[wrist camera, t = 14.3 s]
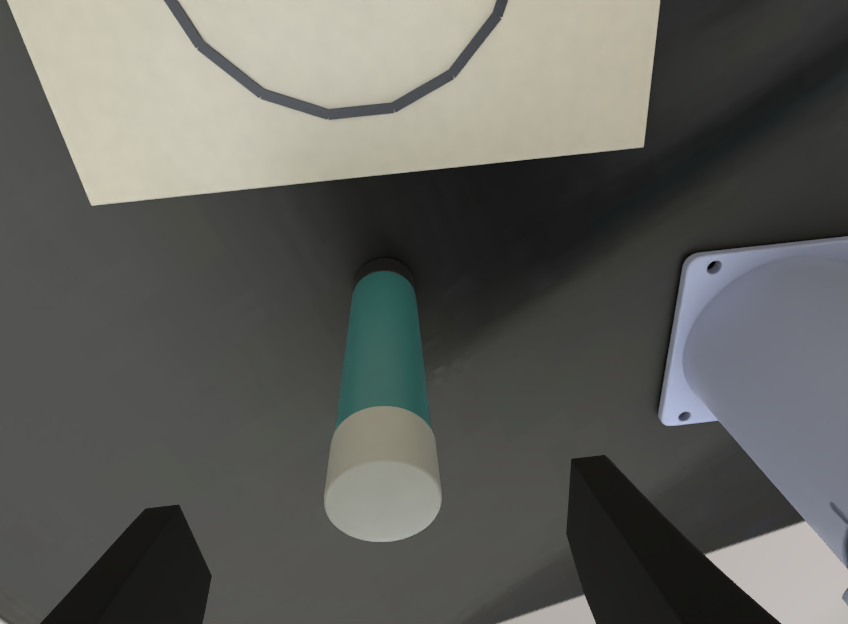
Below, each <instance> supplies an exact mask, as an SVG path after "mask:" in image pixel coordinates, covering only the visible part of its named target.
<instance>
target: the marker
mask: <svg viewBox="0 0 848 624" xmlns="http://www.w3.org/2000/svg"><path fill="white" fill-rule="evenodd" d="M441 502H442V492H441V484H440V476H439V468H438V460H437V452H436V444H435V438H434V435H433V432H432V429H431V421H430V412H429V404H428V395H427V387H426V378H425V370H424V361H423V353H422V345H421V336H420V328H419V319H418V311H417V302H416V294H415V285H414V279H413V276H412V274H411V272H410V271H409V269H408V268H407V267H406V266H405V265H404V264H402V263H401V262H399V261H397V260H394V259H390V258H378V259H374V260H371V261H369V262H367V263H366V264H364V265H363V266H362V267H361V268H360V269H359V271H358V272H357V274H356V277H355V280H354V287H353V295H352V303H351V310H350V318H349V326H348V334H347V342H346V349H345V357H344V365H343V373H342V381H341V389H340V396H339V404H338V412H337V420H336V428H335V433H334V435H333V437H332V442H331V448H330V456H329V463H328V471H327V478H326V486H325V493H324V506H325V510H326V513H327V515H328V517H329V519H330V520H331V522H332V523H333V524H334V525H335V526H336V527H337V528H338V529H340V530H341V531H343V532H344V533H346V534H348V535H350V536H352V537H355V538H358V539H361V540H366V541H374V542H388V541H395V540H400V539H404V538H407V537H410V536H412V535H414V534H416V533H418V532H420V531H421V530H423V529H424V528H426V527H427V526H428V525H429V524H430V523H431V522H432V521H433V520H434V518H435V517H436V515H437V514H438V512H439V509H440V506H441Z"/></svg>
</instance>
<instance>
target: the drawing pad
mask: <svg viewBox="0 0 848 624" xmlns="http://www.w3.org/2000/svg"><path fill="white" fill-rule="evenodd" d="M7 1H8V4H9V6H10V9H11V11H12V14H13V16H14V19H15V21H16V23H17V26H18V28H19V31H20V33H21V36H22V38H23V40H24V43H25V45H26V48H27V50H28V53H29V55H30V57H31V60H32V62H33V65H34V67H35V70H36V72H37V75H38V77H39V79H40V82H41V84H42V87H43V89H44V92H45V94H46V96H47V99H48V101H49V104H50V106H51V109H52V111H53V114H54V116H55V118H56V121H57V123H58V126H59V128H60V131H61V133H62V135H63V138H64V140H65V143H66V145H67V148H68V150H69V153H70V155H71V157H72V160H73V162H74V165H75V167H76V170H77V172H78V174H79V177H80V179H81V182H82V184H83V187H84V189H85V191H86V194H87V196H88V199H89V201H90V204H91V205H92V206H94V205H103V204H113V203H122V202H132V201H141V200H150V199H160V198H169V197H179V196H188V195H198V194H207V193H217V192H226V191H236V190H245V189H254V188H264V187H273V186H283V185H292V184H302V183H311V182H321V181H330V180H340V179H349V178H358V177H368V176H377V175H387V174H396V173H406V172H415V171H425V170H434V169H443V168H453V167H462V166H472V165H481V164H491V163H500V162H510V161H519V160H529V159H538V158H547V157H557V156H566V155H576V154H585V153H595V152H604V151H614V150H623V149H632V148H642V147H644V140H645V131H646V122H647V113H648V104H649V96H650V87H651V78H652V69H653V60H654V51H655V43H656V34H657V25H658V16H659V7H660V0H7Z"/></svg>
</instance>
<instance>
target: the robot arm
mask: <svg viewBox="0 0 848 624" xmlns="http://www.w3.org/2000/svg"><path fill="white" fill-rule="evenodd" d="M713 261H715V264H714V266H713V267H712V268H711V269H708V270H707V267H708V265H709V264H710V263H711V262H713ZM683 412H685V413H683ZM681 413H683V414H682V415H680V414H681ZM658 417H659V419H660V420H661V422H662V423H663V424H664V425H666V426H675V425H683V424H692V423H701V422H710V421H719V422H720V423H721V424H722V425H723V426H724V427H725V429H726V430H727V431H728V432H729V433H730V434H731V435H732V437H733V438H734V439H735V440H736V441H737V442H738V444H739V445H740V446H741V447H742V448H743V449H744V450H745V452H746V453H747V454H748V455H749V456H750V457H751V458H752V460H753V461H754V462H755V463H756V464H757V465H758V467H759V468H760V469H761V470H762V471H763V472H764V473H765V475H766V476H767V477H768V478H769V479H770V480H771V481H772V483H773V484H774V485H775V486H776V487H777V488H778V489H779V491H780V492H781V493H782V494H783V495H784V496H785V498H786V499H787V500H788V501H789V502H790V503H791V504H792V506H793V507H794V508H795V509H796V510H797V511H798V512H799V514H800V515H801V516H802V517H803V518H804V519H805V521H806V522H807V523H808V524H809V525H810V526H811V527H812V528H813V530H814V531H815V532H816V533H817V534H818V535H819V537H820V538H821V539H822V540H823V541H824V542H825V543H826V544H827V546H828V547H829V548H830V549H831V550H832V551H833V553H834V554H835V555H836V556H837V557H838V558H839V559H840V561H841V562H842V563H843V564H844V565H845V566H846V568H847V569H848V236H845V237H836V238H826V239H817V240H808V241H799V242H790V243H781V244H772V245H762V246H753V247H744V248H735V249H726V250H717V251H708V252H699V253H695V254H692V255H691V256H689V257H688V258H687V259H686V260H685V261H684V264H683V267H682V273H681V279H680V285H679V291H678V297H677V303H676V309H675V315H674V321H673V327H672V333H671V339H670V345H669V351H668V357H667V363H666V369H665V375H664V381H663V387H662V393H661V399H660V405H659V411H658ZM566 534H567V537H568V541H569V544H570V548H571V551H572V555H573V558H574V562H575V565H576V569H577V572H578V575H579V579H580V582H581V585H582V589H583V592H584V594H585V597H586V599H587V601H588V604H589V607H590V609H591V611H592V614H593V617H594V619H595V622H596V624H781V623H779V621H778V620H776V619H775V618H774V617H773V616H772V615H771V614H769V613H768V612H767V611H766V610H765V609H764V608H762V607H761V606H760V605H759V604H758V603H757V602H756V601H754V600H753V599H752V598H751V597H750V596H749V595H748V594H746V593H745V592H744V591H743V590H742V589H741V588H740V587H738V586H737V585H736V584H735V583H734V582H733V581H732V580H730V578H728V577H727V576H726V575H725V574H724V573H723V572H722V571H721V570H720V569H719V568H717V567H716V566H715V565H714V564H713V563H712V562H711V561H710V560H709V559H708V558H707V557H706V556H705V555H704V554H703V553H702V552H701V551H700V550H699V549H697V548H696V547H695V546H694V545H693V544H692V543H691V542H690V541H689V540H688V539H687V538H686V537H685V536H684V535H683V534H682V533H681V532H680V531H679V530H678V529H677V528H676V527H675V526H674V525H673V524H672V523H671V522H669V521H668V520H667V519H666V518H665V517H664V516H663V515H662V513H661V512H660V511H659V510H658V509H657V508H656V507H655V506H654V505H653V504H652V503H651V502H650V501H649V500H648V499H647V498H646V497H645V496H644V495H643V494H642V493H641V492H640V491H639V490H638V489H637V488H636V487H635V486H634V485H633V484H632V483H631V482H630V480H629V479H628V478H627V477H626V476H625V475H624V474H623V473H622V472H621V471H620V470H619V469H618V468H617V467H616V466H615V465H614V463H613V462H612V461H611V460H610V459H609V458H607V457H606V456H605V455H601V456H592V457H583V458H575V459H571V473H570V488H569V503H568V518H567V533H566ZM211 577H212V576H211V573H210V571H209V569H208V567H207V565H206V562H205V560H204V558H203V556H202V554H201V552H200V549H199V547H198V545H197V543H196V541H195V538H194V536H193V534H192V532H191V530H190V528H189V525H188V523H187V521H186V519H185V517H184V514H183V512H182V510H181V508H180V506H179V505H172V506H164V507H155V508H147V509H145V510H144V511H143V512H142V513H141V514H140V515H139V516H138V517H137V518H136V519H135V520H134V521H133V522H132V524H131V525H130V526H129V527H128V528H127V529H126V530H125V531H124V532H123V533H122V535H121V536H120V537H119V538H118V539H117V540H116V541H115V542H114V543H113V545H112V546H111V547H110V548H109V549H108V550H107V551H106V552H105V553H104V555H103V556H102V557H101V558H100V559H99V560H98V561H97V562H96V563H95V565H94V566H93V567H92V568H91V569H90V570H89V571H88V572H87V573H86V574H85V576H84V577H83V578H82V579H81V580H80V581H79V582H78V583H77V584H76V585H75V587H74V588H73V589H72V590H71V591H70V592H69V593H68V594H67V595H66V596H65V597H64V598H63V600H62V601H61V602H60V603H59V604H58V605H57V606H56V607H55V608H54V609H53V610H52V611H51V613H50V614H49V615H48V616H47V617H46V618H45V619H44V620H43V621H42V622H41V623H40V624H202V623H203V618H204V613H205V609H206V603H207V598H208V593H209V587H210V582H211ZM842 599H843V600H844V601H845V603H846V604H847V605H848V589H847V590H846V591H845V593H844V594H843V596H842Z"/></svg>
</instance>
